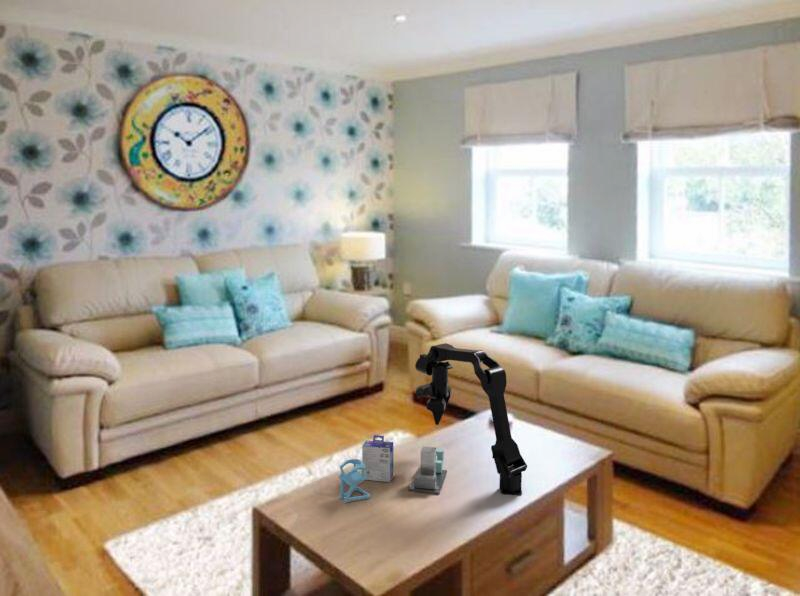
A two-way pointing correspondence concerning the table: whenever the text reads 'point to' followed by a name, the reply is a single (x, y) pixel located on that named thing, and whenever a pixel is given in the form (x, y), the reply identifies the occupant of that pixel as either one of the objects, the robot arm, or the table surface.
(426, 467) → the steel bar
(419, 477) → the bench vise
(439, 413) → the robot arm
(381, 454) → the ink cartridge box
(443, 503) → the table surface
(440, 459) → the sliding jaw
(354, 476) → the chair
